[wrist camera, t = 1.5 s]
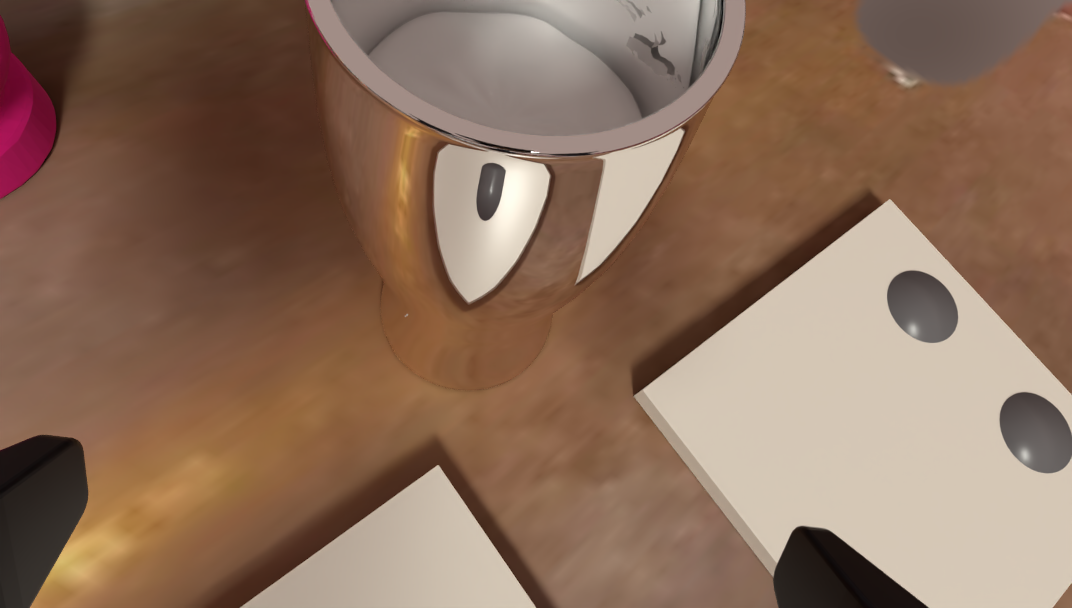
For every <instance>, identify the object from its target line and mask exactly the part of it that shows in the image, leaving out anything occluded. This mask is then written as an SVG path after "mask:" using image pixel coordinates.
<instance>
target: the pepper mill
mask: <svg viewBox="0 0 1072 608" xmlns="http://www.w3.org/2000/svg"><path fill="white" fill-rule="evenodd" d="M55 133H56V115H55V109H54V107H53V104H52V101H51V99H50V98H49V96H48V94H47V93H46V91H45V90H44V89H43V88H42V86H41V85H40V84H39V83H38V81H37V80H36V79H35V78H34V77H33V76H32V74H31V73H30V72H29V71H28V70H27V69H26V67H25V66H24V65H23V64H22V63H21V61H20V60H19V59H18V58H17V57H16V56H15V55H14V54H13V53H12V52H11V49H10V43H9V37H8V34H7V30H6V27H5V24H4V21H3V19H2V17H1V15H0V199H1V198H3V197H4V196H6V195H8V194H9V193H11V192H12V191H14V190H15V189H17V188H18V187H20V186H22V185H23V184H24V183H25V182H26V181H27V180H28V179H29V178H30V177H31V176H32V175H34V174H35V173H36V172H37V171H38V170H39V168H40V166H41V165H42V163H43V162H44V160H45V159H46V157H47V155H48V154H49V152H50V151H51V149H52V146H53V142H54V138H55Z"/></svg>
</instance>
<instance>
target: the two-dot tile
mask: <svg viewBox="0 0 1072 608" xmlns="http://www.w3.org/2000/svg"><path fill="white" fill-rule="evenodd" d="M634 397H635V399H636V400H637V401H638V403H639V404H640V405H641V406H642V408H643V409H644V410H645V412H646V413H647V414H648V415H649V417H650V418H651V419H652V421H653V422H654V423H655V425H656V426H657V427H658V428H659V430H660V431H661V432H662V434H663V435H664V436H665V438H666V439H667V440H668V441H669V443H670V444H671V445H672V447H673V448H674V449H675V451H676V452H677V453H678V454H679V456H680V457H681V458H682V460H683V461H684V462H685V463H686V465H687V466H688V467H689V469H690V470H691V471H692V473H693V474H694V475H695V476H696V478H697V479H698V480H699V482H700V483H701V484H702V486H703V487H704V488H705V489H706V491H707V492H708V493H709V495H710V496H711V497H712V498H713V500H714V501H715V502H716V504H717V505H718V506H719V508H720V509H721V510H722V511H723V513H724V514H725V515H726V517H727V518H728V519H729V521H730V522H731V523H732V524H733V526H734V527H735V528H736V530H737V531H738V532H739V534H740V535H741V536H742V537H743V539H744V540H745V541H746V543H747V544H748V545H749V546H750V548H751V549H752V550H753V552H754V553H755V554H756V556H757V557H758V558H759V559H760V561H761V562H762V563H763V565H764V566H765V567H766V569H767V570H768V571H769V572H770V574H771V575H772V576H773V578H774V571H775V568H776V565H777V563H778V561H779V559H780V557H781V554H782V552H783V550H784V548H785V546H786V543H787V541H788V539H789V537H790V535H791V533H792V531H793V530H794V529H795V528H796V527H798V526H810V527H819V528H825V529H828V530H830V531H832V532H833V533H834V534H836V535H837V536H838V537H839V538H841V539H842V540H843V541H844V542H846V543H847V544H848V545H850V546H851V547H852V548H853V549H855V550H856V551H857V552H859V553H860V554H861V555H862V556H864V557H865V558H866V559H867V560H869V561H870V562H871V563H873V564H874V565H875V566H876V567H878V568H879V569H880V570H882V571H883V572H884V573H885V574H887V575H888V576H889V577H890V578H892V579H893V580H894V581H896V582H897V583H898V584H899V585H901V586H902V587H903V588H905V589H906V590H907V591H908V592H910V593H911V594H912V595H913V596H915V597H916V598H917V599H919V600H920V601H921V602H922V603H924V604H925V605H926V606H928V607H929V608H1052V607H1053V606H1054V605H1055V604H1056V602H1057V601H1058V600H1059V598H1060V597H1061V596H1062V595H1063V593H1064V592H1065V591H1066V589H1067V588H1068V587H1069V586H1070V584H1071V583H1072V395H1071V394H1070V393H1069V392H1068V391H1067V389H1066V388H1065V387H1064V386H1063V385H1062V384H1061V383H1060V382H1059V381H1058V380H1057V379H1056V378H1055V377H1054V375H1053V374H1052V373H1051V372H1050V371H1049V370H1048V369H1047V368H1046V367H1045V366H1044V365H1043V364H1042V363H1041V361H1040V360H1039V359H1038V358H1037V357H1036V356H1035V355H1034V354H1033V353H1032V352H1031V351H1030V350H1029V349H1028V347H1027V346H1026V345H1025V344H1024V343H1023V342H1022V341H1021V340H1020V339H1019V338H1018V337H1017V336H1016V334H1015V333H1014V332H1013V331H1012V330H1011V329H1010V328H1009V327H1008V326H1007V325H1006V324H1005V323H1004V322H1003V320H1002V319H1001V318H1000V317H999V316H998V315H997V314H996V313H995V312H994V311H993V310H992V309H991V308H990V306H989V305H988V304H987V303H986V302H985V301H984V300H983V299H982V298H981V297H980V296H979V295H978V294H977V292H976V291H975V290H974V289H973V288H972V287H971V286H970V285H969V284H968V283H967V282H966V281H965V280H964V278H963V277H962V276H961V275H960V274H959V273H958V272H957V271H956V270H955V269H954V268H953V267H952V265H951V264H950V263H949V262H948V261H947V260H946V259H945V258H944V257H943V256H942V255H941V254H940V253H939V251H938V250H937V249H936V248H935V247H934V246H933V245H932V244H931V243H930V242H929V241H928V240H927V239H926V237H925V236H924V235H923V234H922V233H921V232H920V231H919V230H918V229H917V228H916V227H915V226H914V225H913V223H912V222H911V221H910V220H909V219H908V218H907V217H906V216H905V215H904V214H903V213H902V212H901V211H900V209H899V208H898V207H897V206H896V205H895V204H894V203H893V202H892V201H891V200H890V199H889V200H888V201H887V202H885V203H884V204H883V205H881V206H880V207H879V208H877V209H876V210H874V211H873V212H872V213H871V214H869V215H868V216H867V217H865V218H864V219H863V220H861V221H860V222H859V223H858V224H856V225H855V226H854V227H852V228H851V229H850V230H848V231H847V232H846V233H845V234H843V235H842V236H841V237H839V238H838V239H837V240H835V241H834V242H833V243H832V244H830V245H829V246H828V247H826V248H825V249H824V250H823V251H821V252H820V253H819V254H817V255H816V256H815V257H813V258H812V259H811V260H810V261H808V262H807V263H806V264H804V265H803V266H802V267H800V268H799V269H798V270H797V271H795V272H794V273H793V274H791V275H790V276H789V277H787V278H786V279H785V280H784V281H782V282H781V283H780V284H778V285H777V286H776V287H774V288H773V289H772V290H771V291H769V292H768V293H767V294H765V295H764V296H763V297H761V298H760V299H759V300H758V301H756V302H755V303H754V304H752V305H751V306H750V307H749V308H747V309H746V310H745V311H743V312H742V313H741V314H739V315H738V316H737V317H736V318H734V319H733V320H732V321H730V322H729V323H728V324H726V325H725V326H724V327H723V328H721V329H720V330H719V331H717V332H716V333H715V334H713V335H712V336H711V337H710V338H708V339H707V340H706V341H704V342H703V343H702V344H700V345H699V346H698V347H697V348H695V349H694V350H693V351H691V352H690V353H689V354H688V355H686V356H685V357H684V358H682V359H681V360H680V361H678V362H677V363H676V364H675V365H673V366H672V367H671V368H669V369H668V370H667V371H665V372H664V373H663V374H662V375H660V376H659V377H658V378H656V379H655V380H654V381H652V382H651V383H650V384H649V385H647V386H646V387H645V388H643V389H642V390H641V391H639V392H638V393H637V394H636V395H634Z"/></svg>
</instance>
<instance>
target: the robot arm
mask: <svg viewBox="0 0 1072 608" xmlns="http://www.w3.org/2000/svg"><path fill="white" fill-rule="evenodd" d="M87 501H88V485H87V476H86V468H85V460H84V451H83V447H82V445H81V443H80V442H79V441H78V440H76V439H74V438H68V437H60V436H52V435H38V436H35V437H32V438H29V439H27V440H25V441H22V442H20V443H17V444H15V445H12V446H10V447H8V448H5V449H3V450H0V608H30V606H31V605H32V603H33V601H34V599H35V597H36V596H37V594H38V592H39V590H40V589H41V587H42V585H43V583H44V582H45V580H46V578H47V576H48V575H49V573H50V571H51V569H52V568H53V566H54V564H55V562H56V561H57V559H58V557H59V555H60V553H61V552H62V550H63V548H64V546H65V545H66V543H67V541H68V539H69V538H70V536H71V534H72V532H73V531H74V529H75V527H76V525H77V524H78V522H79V520H80V518H81V517H82V515H83V513H84V510H85V508H86V505H87ZM773 583H774V591H775V595H776V599H777V603H778V607H779V608H929V607H928V606H926V605H925V604H924V603H922V602H921V601H920V600H919V599H917V598H916V597H915V596H913V595H912V594H911V593H910V592H908V591H907V590H906V589H905V588H903V587H902V586H901V585H899V584H898V583H897V582H896V581H894V580H893V579H892V578H890V577H889V576H888V575H887V574H885V573H884V572H883V571H882V570H880V569H879V568H878V567H876V566H875V565H874V564H873V563H871V562H870V561H869V560H867V559H866V558H865V557H864V556H862V555H861V554H860V553H859V552H857V551H856V550H855V549H853V548H852V547H851V546H850V545H848V544H847V543H846V542H844V541H843V540H842V539H841V538H839V537H838V536H837V535H836V534H834V533H833V532H832V531H830V530H828V529H825V528H819V527H810V526H798V527H796V528H795V529H794V530H793V531H792V533H791V535H790V537H789V539H788V541H787V543H786V546H785V548H784V550H783V552H782V554H781V557H780V559H779V561H778V563H777V565H776V568H775V571H774V578H773Z"/></svg>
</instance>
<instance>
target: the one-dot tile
mask: <svg viewBox="0 0 1072 608" xmlns="http://www.w3.org/2000/svg"><path fill="white" fill-rule="evenodd" d="M240 608H536V607H535V605H534V604H533V602H532V601H531V600H530V598H529V597H528V595H527V594H526V592H525V591H524V589H523V588H522V586H521V585H520V583H519V582H518V581H517V579H516V578H515V576H514V575H513V573H512V572H511V570H510V569H509V567H508V566H507V564H506V563H505V562H504V560H503V559H502V557H501V556H500V554H499V553H498V551H497V550H496V548H495V547H494V545H493V544H492V543H491V541H490V540H489V538H488V537H487V535H486V534H485V532H484V531H483V529H482V528H481V526H480V525H479V524H478V522H477V521H476V519H475V518H474V516H473V515H472V513H471V512H470V510H469V509H468V508H467V506H466V505H465V503H464V502H463V500H462V499H461V497H460V496H459V494H458V493H457V491H456V490H455V489H454V487H453V486H452V484H451V483H450V481H449V480H448V478H447V477H446V475H445V474H444V472H443V471H442V470H441V468H440V467H439V465H437V466H436V467H435V468H433V469H432V470H430V471H429V472H428V473H426V474H425V475H423V476H422V477H421V478H419V479H418V480H416V481H415V482H414V483H412V484H411V485H410V486H408V487H407V488H405V489H404V490H403V491H401V492H400V493H398V494H397V495H396V496H394V497H393V498H392V499H390V500H389V501H387V502H386V503H385V504H383V505H382V506H380V507H379V508H378V509H376V510H375V511H373V512H372V513H371V514H369V515H368V516H367V517H365V518H364V519H362V520H361V521H360V522H358V523H357V524H355V525H354V526H353V527H351V528H350V529H348V530H347V531H346V532H344V533H343V534H342V535H340V536H339V537H337V538H336V539H335V540H333V541H332V542H330V543H329V544H328V545H326V546H325V547H323V548H322V549H321V550H319V551H318V552H317V553H315V554H314V555H312V556H311V557H310V558H308V559H307V560H305V561H304V562H303V563H301V564H300V565H299V566H297V567H296V568H294V569H293V570H292V571H290V572H289V573H287V574H286V575H285V576H283V577H282V578H280V579H279V580H278V581H276V582H275V583H274V584H272V585H271V586H269V587H268V588H267V589H265V590H264V591H262V592H261V593H260V594H258V595H257V596H255V597H254V598H253V599H251V600H250V601H249V602H247V603H246V604H244V605H243V606H242V607H240Z"/></svg>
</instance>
